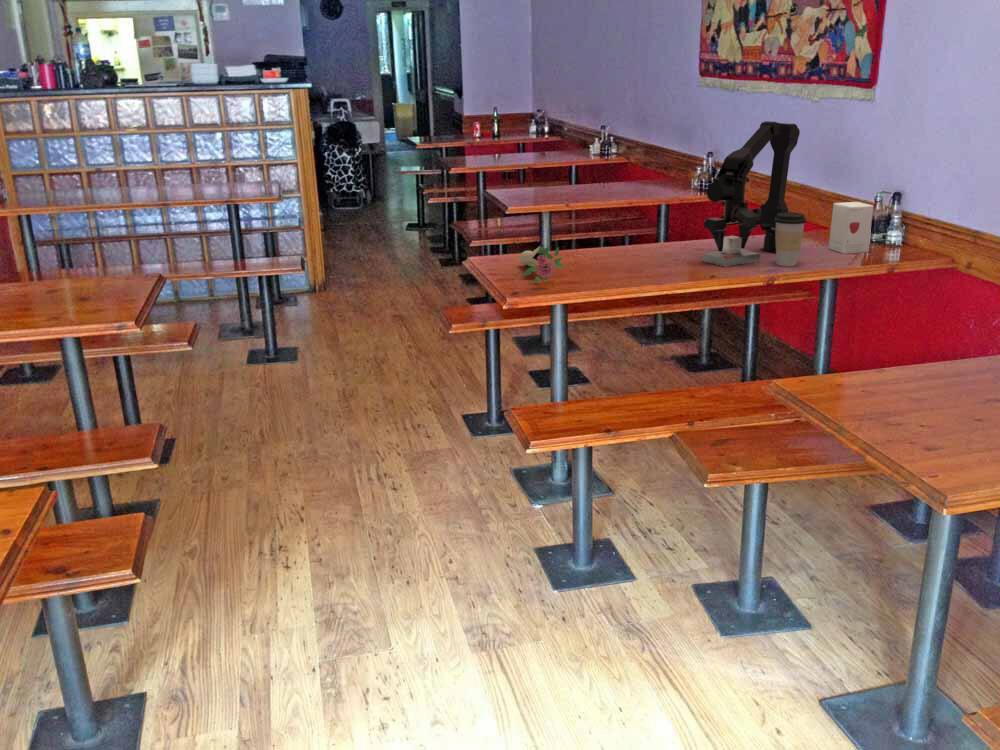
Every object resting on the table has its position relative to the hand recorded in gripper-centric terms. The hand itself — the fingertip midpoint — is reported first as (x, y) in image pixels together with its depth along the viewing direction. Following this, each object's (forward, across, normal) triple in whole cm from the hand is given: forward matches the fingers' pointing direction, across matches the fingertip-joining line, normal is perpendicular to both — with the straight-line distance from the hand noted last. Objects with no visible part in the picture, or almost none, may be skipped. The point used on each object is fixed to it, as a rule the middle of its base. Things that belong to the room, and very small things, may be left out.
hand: (731, 249), depth 285 cm
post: (+4, 0, 0) cm, 4 cm away
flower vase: (+4, -61, +13) cm, 63 cm away
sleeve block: (+4, 0, 0) cm, 4 cm away
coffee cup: (+4, +11, -12) cm, 17 cm away
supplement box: (+4, +42, -8) cm, 43 cm away
